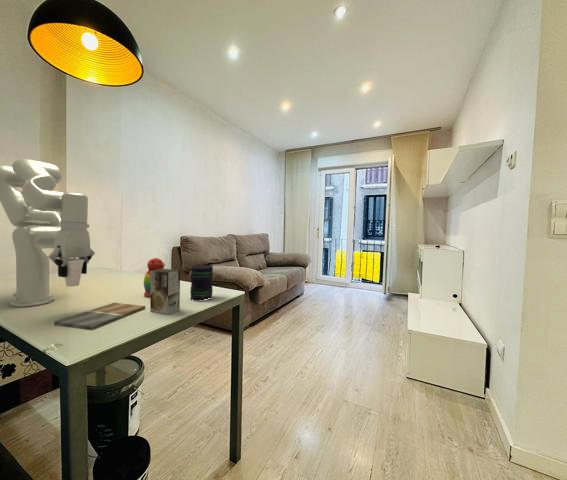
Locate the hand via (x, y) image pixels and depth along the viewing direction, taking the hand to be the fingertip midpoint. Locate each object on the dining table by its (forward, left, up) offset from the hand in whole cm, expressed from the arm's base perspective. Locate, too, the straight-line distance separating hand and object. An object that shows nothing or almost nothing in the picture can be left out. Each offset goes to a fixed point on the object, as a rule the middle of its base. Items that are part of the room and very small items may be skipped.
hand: (72, 274), depth 92 cm
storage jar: (+35, +31, -14) cm, 49 cm away
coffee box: (+31, +11, -14) cm, 36 cm away
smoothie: (0, 0, -4) cm, 4 cm away
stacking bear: (+12, +29, -14) cm, 34 cm away
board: (+14, 0, -14) cm, 20 cm away
